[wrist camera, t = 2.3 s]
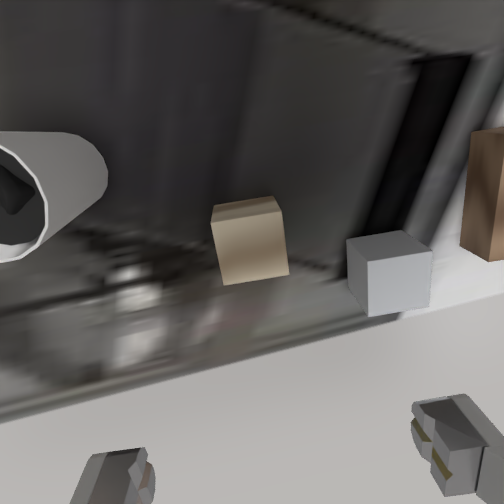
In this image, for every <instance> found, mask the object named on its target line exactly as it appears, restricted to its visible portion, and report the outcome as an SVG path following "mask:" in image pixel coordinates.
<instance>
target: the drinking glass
mask: <svg viewBox="0 0 504 504" xmlns="http://www.w3.org/2000/svg"><path fill="white" fill-rule="evenodd" d="M107 185H108V170H107V167H106V164H105V161H104V158H103V157H102V155H101V154H100V153H99V152H98V150H97V149H96V148H95V147H94V145H93V144H91V143H90V142H88V141H87V140H85V139H83V138H82V137H80V136H79V135H74V134H69V133H65V132H10V131H0V263H2V262H8V261H13V260H18V259H21V258H23V257H24V256H26V255H27V254H29V253H30V252H31V251H33V250H34V249H36V248H37V247H38V246H40V245H41V244H42V243H44V242H45V241H46V240H47V239H49V238H50V237H51V236H52V235H54V234H55V233H56V232H58V231H59V230H60V229H61V228H63V227H64V226H65V225H67V224H68V223H69V222H70V221H72V220H73V219H74V218H75V217H77V216H78V215H79V214H81V213H82V212H83V211H84V210H86V209H87V208H88V207H90V206H91V205H92V204H93V203H95V202H96V201H97V200H99V199H100V198H101V197H102V195H103V193H104V191H105V190H106V188H107Z"/></svg>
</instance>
